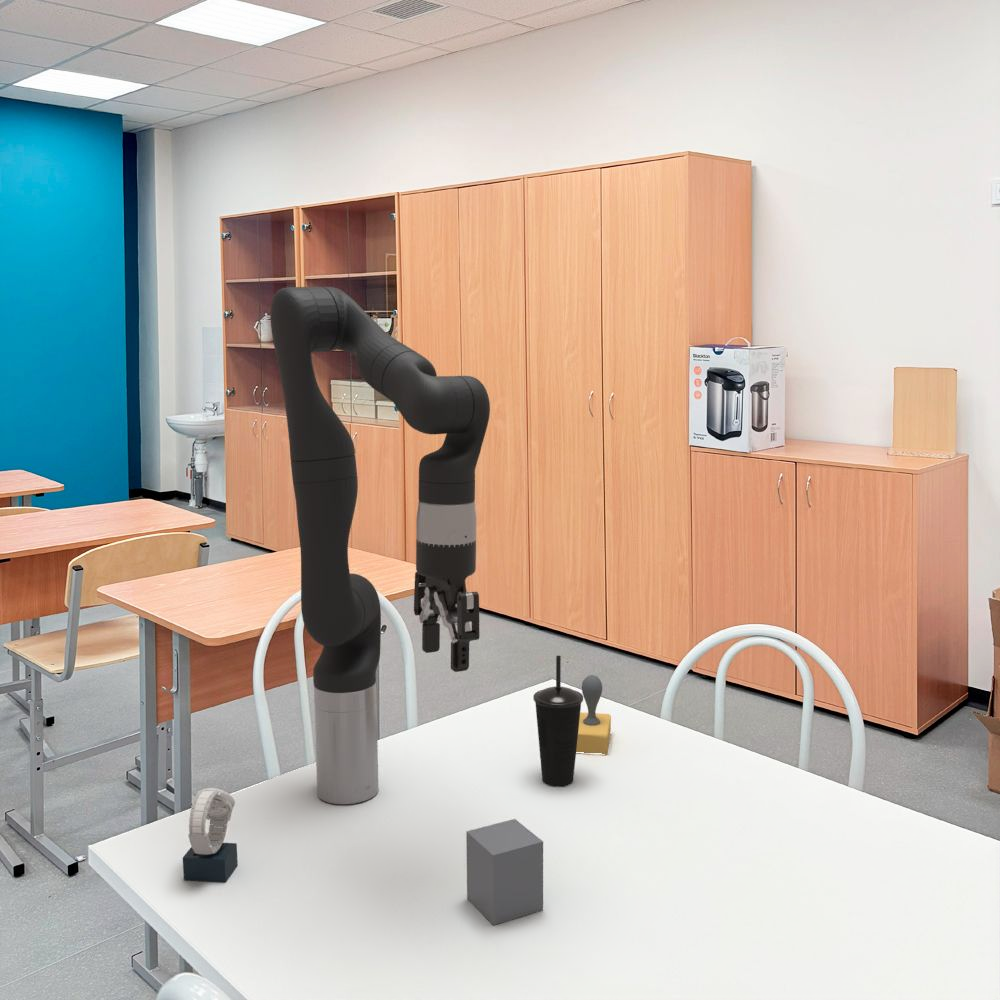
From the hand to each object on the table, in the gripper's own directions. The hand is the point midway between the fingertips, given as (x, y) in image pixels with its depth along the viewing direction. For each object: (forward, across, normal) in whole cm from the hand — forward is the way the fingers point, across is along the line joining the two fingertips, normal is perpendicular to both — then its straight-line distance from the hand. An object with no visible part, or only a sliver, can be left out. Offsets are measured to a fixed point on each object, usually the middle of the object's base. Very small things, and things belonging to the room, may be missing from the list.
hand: (444, 660), depth 134 cm
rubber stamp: (+28, +24, -39) cm, 54 cm away
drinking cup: (+27, +14, -26) cm, 40 cm away
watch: (+28, +12, +28) cm, 41 cm away
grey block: (+27, -14, -2) cm, 30 cm away
